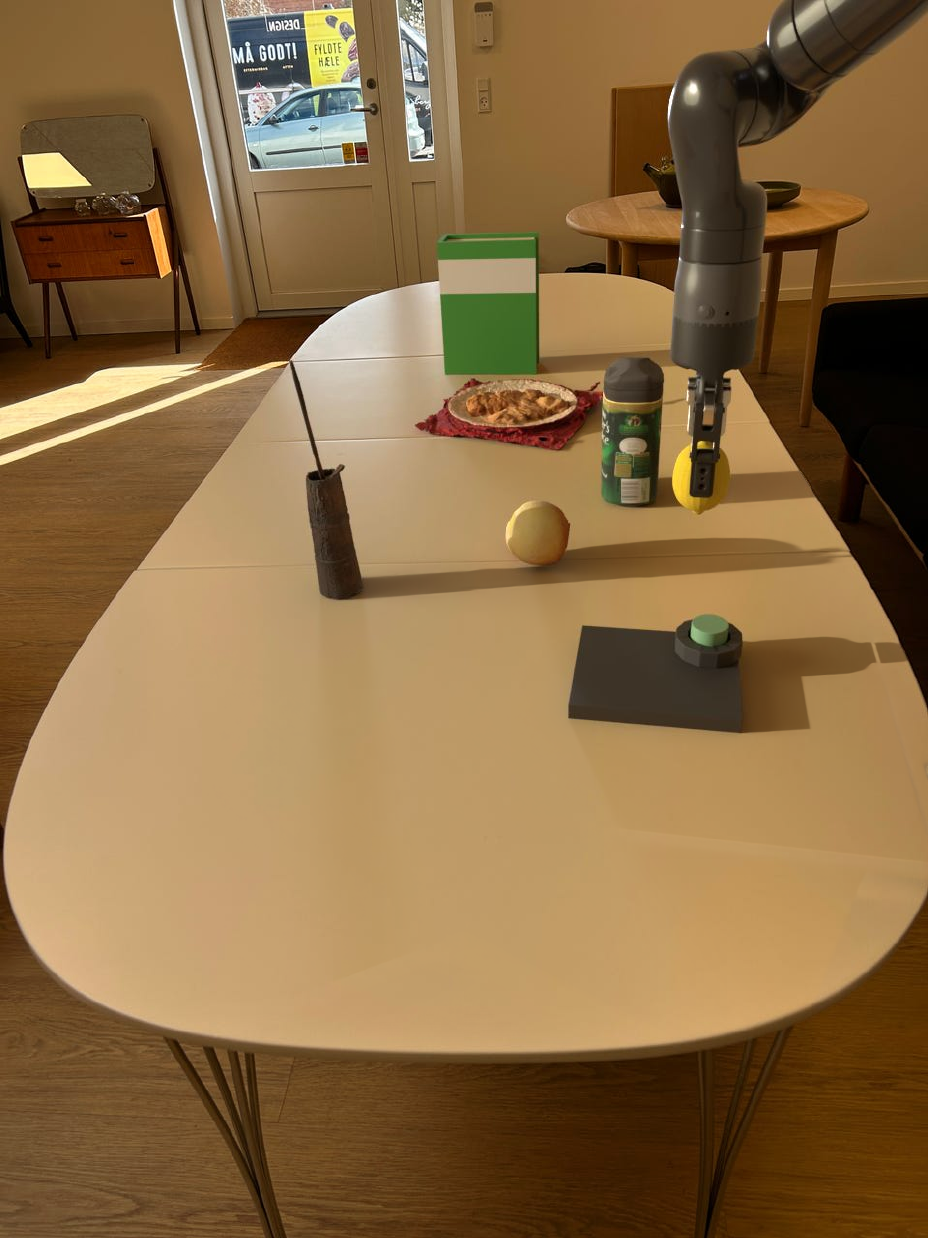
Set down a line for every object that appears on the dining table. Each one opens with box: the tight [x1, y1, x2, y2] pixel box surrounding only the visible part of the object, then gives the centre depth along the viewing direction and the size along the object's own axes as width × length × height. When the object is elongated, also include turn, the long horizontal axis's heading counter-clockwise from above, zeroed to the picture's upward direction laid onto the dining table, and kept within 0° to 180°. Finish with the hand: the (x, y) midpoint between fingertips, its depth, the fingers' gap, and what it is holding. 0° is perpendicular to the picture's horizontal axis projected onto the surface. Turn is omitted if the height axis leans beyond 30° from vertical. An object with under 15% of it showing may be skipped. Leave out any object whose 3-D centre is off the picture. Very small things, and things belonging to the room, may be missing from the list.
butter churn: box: [288, 359, 364, 600], centre depth 105 cm, size 9×10×28 cm
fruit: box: [505, 500, 571, 566], centre depth 113 cm, size 8×8×8 cm
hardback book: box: [436, 231, 540, 375], centre depth 175 cm, size 18×7×24 cm, turn 82°
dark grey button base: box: [567, 618, 744, 734], centre depth 93 cm, size 16×14×4 cm
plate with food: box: [414, 377, 603, 451], centre depth 158 cm, size 24×26×4 cm
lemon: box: [671, 441, 731, 516], centre depth 92 cm, size 6×6×8 cm
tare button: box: [691, 613, 729, 647], centre depth 94 cm, size 4×4×2 cm
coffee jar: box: [600, 356, 665, 508], centre depth 126 cm, size 10×8×19 cm
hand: (700, 482), depth 93 cm, fingers closed on lemon, 5 cm apart
